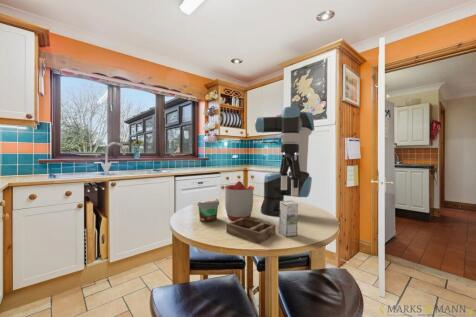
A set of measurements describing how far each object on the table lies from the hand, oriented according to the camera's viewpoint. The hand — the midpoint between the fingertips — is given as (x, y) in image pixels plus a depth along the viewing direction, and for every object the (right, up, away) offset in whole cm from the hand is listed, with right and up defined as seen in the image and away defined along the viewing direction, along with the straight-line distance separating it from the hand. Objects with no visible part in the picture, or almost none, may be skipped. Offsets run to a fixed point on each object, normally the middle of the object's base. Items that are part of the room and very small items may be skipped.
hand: (288, 192), depth 95 cm
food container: (-36, -18, +18) cm, 44 cm away
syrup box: (0, -19, +1) cm, 19 cm away
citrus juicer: (-21, -18, +24) cm, 37 cm away
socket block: (-17, -18, +1) cm, 25 cm away
